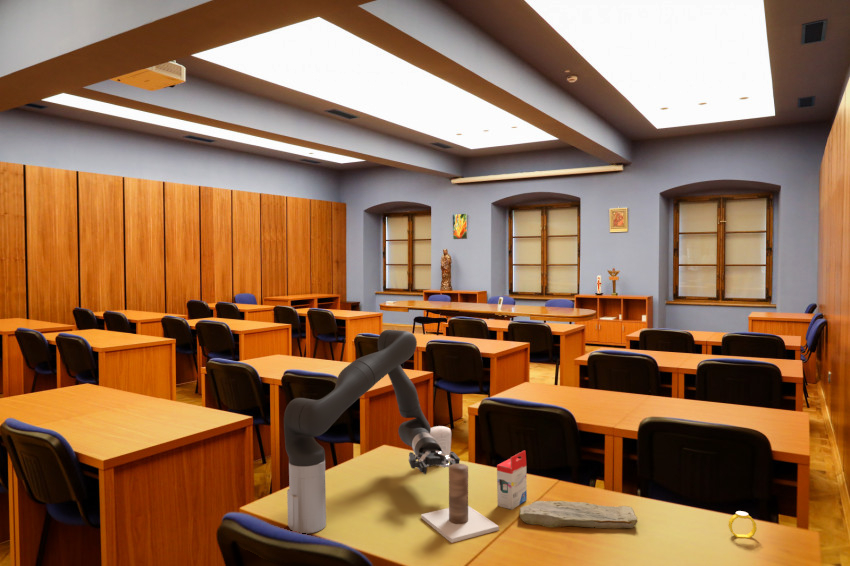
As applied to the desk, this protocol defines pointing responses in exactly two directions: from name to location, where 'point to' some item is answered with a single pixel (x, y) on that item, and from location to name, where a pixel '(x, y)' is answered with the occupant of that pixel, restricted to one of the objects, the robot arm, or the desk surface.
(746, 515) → the gold ring
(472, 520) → the white mat
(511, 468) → the ink box
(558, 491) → the desk surface
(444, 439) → the white rounded slab
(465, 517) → the slanted wooden cylinder
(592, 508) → the stone slab
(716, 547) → the desk surface
